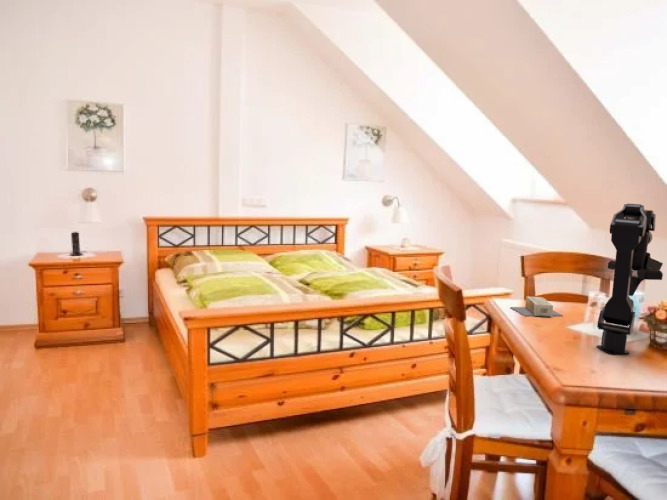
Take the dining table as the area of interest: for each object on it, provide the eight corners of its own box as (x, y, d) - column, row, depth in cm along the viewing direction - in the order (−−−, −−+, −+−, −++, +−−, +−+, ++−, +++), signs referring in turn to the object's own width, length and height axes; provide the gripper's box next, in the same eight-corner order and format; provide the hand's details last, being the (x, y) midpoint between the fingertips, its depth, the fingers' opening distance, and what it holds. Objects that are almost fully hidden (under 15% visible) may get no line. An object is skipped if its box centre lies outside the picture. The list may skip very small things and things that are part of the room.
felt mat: (562, 316, 194) (562, 315, 194) (524, 316, 192) (524, 315, 192) (546, 308, 205) (546, 307, 205) (510, 308, 203) (510, 307, 203)
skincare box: (552, 316, 191) (542, 308, 203) (553, 305, 190) (543, 297, 203) (534, 315, 192) (524, 307, 204) (535, 304, 191) (526, 296, 203)
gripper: (681, 253, 163) (674, 303, 165) (639, 244, 181) (633, 289, 184) (649, 253, 161) (642, 302, 164) (609, 243, 180) (603, 289, 182)
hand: (630, 295), depth 173 cm, fingers closed
